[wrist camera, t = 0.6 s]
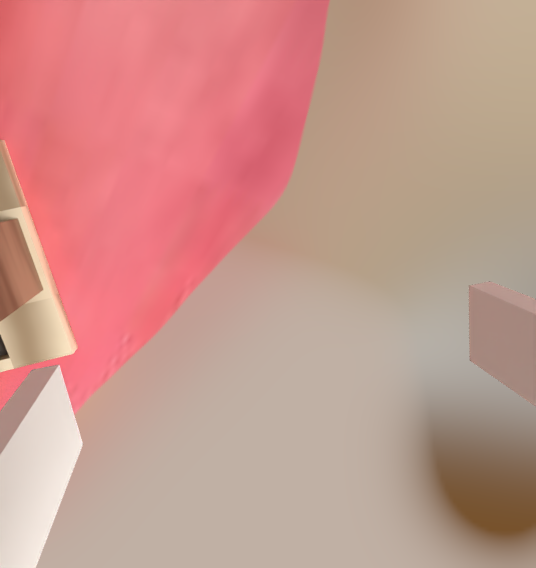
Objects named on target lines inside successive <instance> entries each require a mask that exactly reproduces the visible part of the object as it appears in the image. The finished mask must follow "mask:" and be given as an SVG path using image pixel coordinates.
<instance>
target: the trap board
mask: <svg viewBox="0 0 536 568" xmlns="http://www.w3.org/2000/svg"><path fill="white" fill-rule="evenodd" d="M17 218H18V220H19V223H20V226H21V229H22V231H23V234H24V237H25V240H26V242H27V245H28V248H29V251H30V253H31V256H32V259H33V262H34V264H35V267H36V270H37V273H38V275H39V278H40V281H41V284H42V286H43V289H44V290H43V291H41V292H40V293H39V294H37V295H36V296H34V297H33V298H32V299H30V300H29V301H28V302H26V303H25V304H24V305H22V306H21V307H20V308H18V309H17V310H16V311H14V312H13V313H12V314H10V315H9V316H7V317H6V318H5V319H3V320H2V321H1V322H0V372H3V371H7V370H11V369H15V368H19V367H22V366H26V365H30V364H34V363H38V362H42V361H46V360H50V359H54V358H58V357H62V356H66V355H70V354H73V353H74V352H75V351H76V349H77V348H78V346H77V344H76V341H75V338H74V335H73V332H72V329H71V327H70V324H69V321H68V318H67V315H66V312H65V310H64V307H63V304H62V301H61V298H60V296H59V293H58V290H57V287H56V284H55V281H54V279H53V276H52V273H51V270H50V267H49V265H48V262H47V259H46V256H45V253H44V250H43V248H42V245H41V242H40V239H39V236H38V234H37V231H36V228H35V225H34V222H33V219H32V217H31V214H30V211H29V208H28V205H27V202H26V200H25V197H24V194H23V191H22V188H21V186H20V183H19V180H18V177H17V174H16V171H15V169H14V166H13V163H12V160H11V157H10V155H9V152H8V149H7V146H6V143H5V140H0V222H4V221H8V220H13V219H17Z"/></svg>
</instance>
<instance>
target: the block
mask: <svg viewBox="0 0 536 568" xmlns="http://www.w3.org/2000/svg"><path fill="white" fill-rule="evenodd" d="M43 290H44V289H43V286H42V284H41V281H40V278H39V275H38V273H37V270H36V267H35V264H34V262H33V259H32V256H31V253H30V251H29V248H28V245H27V242H26V240H25V237H24V234H23V231H22V229H21V226H20V223H19V220H18V218H17V219H13V220H8V221H4V222H0V322H1V321H2V320H3V319H5V318H6V317H7V316H9V315H10V314H12V313H13V312H14V311H16V310H17V309H18V308H20V307H21V306H22V305H24V304H25V303H26V302H28V301H29V300H30V299H32V298H33V297H34V296H36V295H37V294H39V293H40V292H41V291H43Z"/></svg>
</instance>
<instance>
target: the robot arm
mask: <svg viewBox="0 0 536 568" xmlns="http://www.w3.org/2000/svg"><path fill="white" fill-rule="evenodd" d="M469 339H470V340H469V342H470V343H469V344H470V361H471V362H473V363H474V364H476V365H477V366H479V367H480V368H481V369H483V370H484V371H486V372H487V373H489V374H490V375H491V376H493V377H494V378H496V379H497V380H499V381H500V382H501V383H503V384H504V385H506V386H507V387H508V388H510V389H511V390H513V391H514V392H516V393H517V394H518V395H520V396H522V397H523V398H524V399H526V400H527V401H529V402H530V403H531V404H533V405H534V406H536V299H534V298H532V297H529V296H527V295H524V294H521V293H519V292H516V291H513V290H511V289H509V288H506V287H503V286H501V285H498V284H495V283H493V282H490V281H489V282H484V283H478V284H474V285H469ZM82 445H83V443H82V440H81V436H80V433H79V430H78V426H77V423H76V419H75V416H74V413H73V409H72V406H71V403H70V399H69V396H68V393H67V389H66V386H65V383H64V379H63V376H62V373H61V369H60V366H59V365H55V366H49V367H44V368H39V369H34V370H32V371H31V372H30V373H29V374H28V376H27V377H26V378H25V380H24V381H23V382H22V384H21V385H20V386H19V388H18V389H17V390H16V391H15V393H14V394H13V395H12V397H11V398H10V399H9V401H8V402H7V403H6V404H5V406H4V407H3V408H2V410H1V411H0V568H36V566H37V563H38V560H39V558H40V555H41V552H42V550H43V547H44V545H45V542H46V539H47V537H48V534H49V531H50V529H51V526H52V524H53V521H54V518H55V516H56V513H57V511H58V508H59V505H60V503H61V500H62V497H63V495H64V492H65V489H66V487H67V484H68V482H69V479H70V476H71V474H72V471H73V469H74V466H75V463H76V461H77V458H78V456H79V453H80V450H81V448H82Z"/></svg>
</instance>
